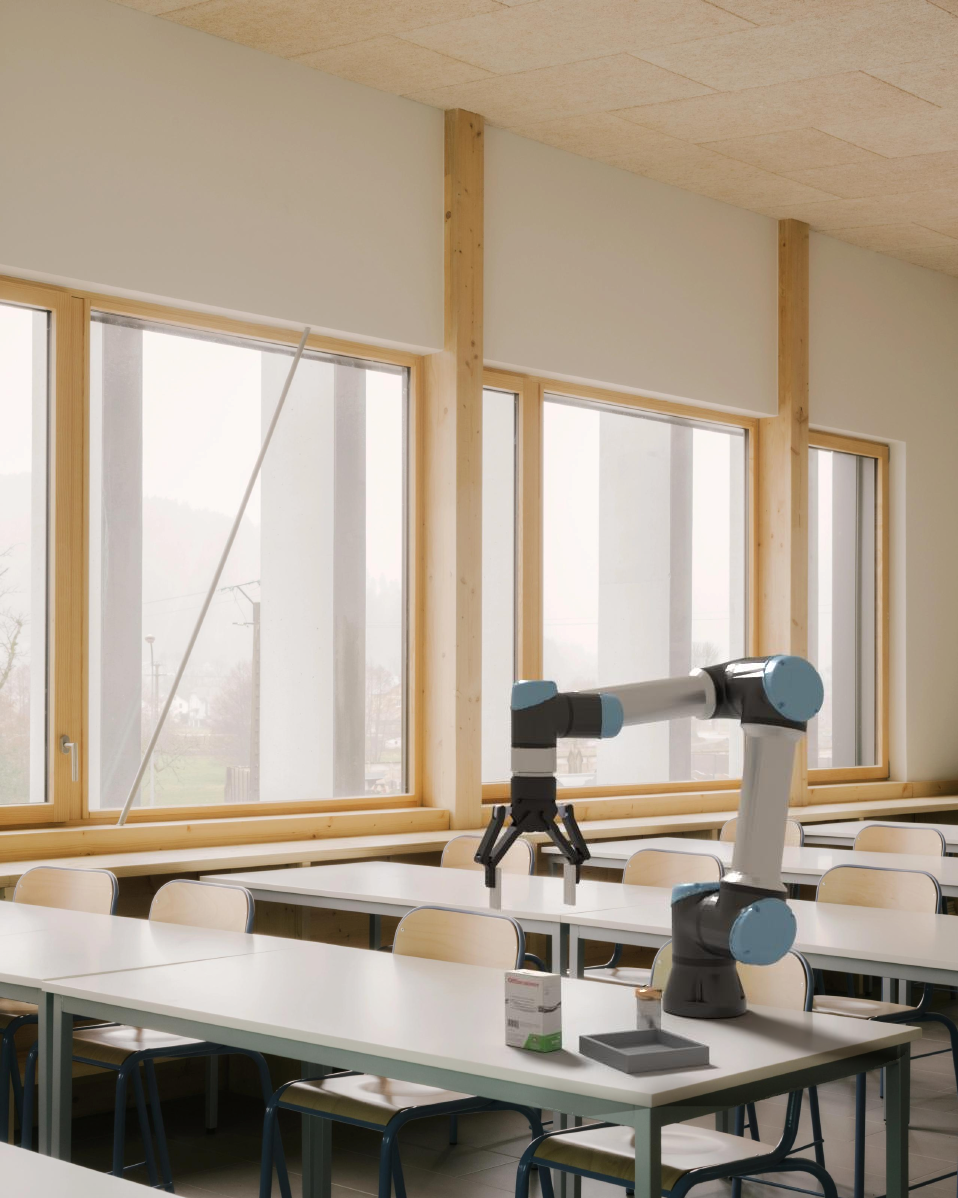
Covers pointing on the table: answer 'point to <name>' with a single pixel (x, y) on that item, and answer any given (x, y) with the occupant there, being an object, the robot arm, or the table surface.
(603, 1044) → the parts tray
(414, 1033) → the table surface
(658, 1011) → the fuse
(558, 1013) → the ink box
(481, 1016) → the table surface
